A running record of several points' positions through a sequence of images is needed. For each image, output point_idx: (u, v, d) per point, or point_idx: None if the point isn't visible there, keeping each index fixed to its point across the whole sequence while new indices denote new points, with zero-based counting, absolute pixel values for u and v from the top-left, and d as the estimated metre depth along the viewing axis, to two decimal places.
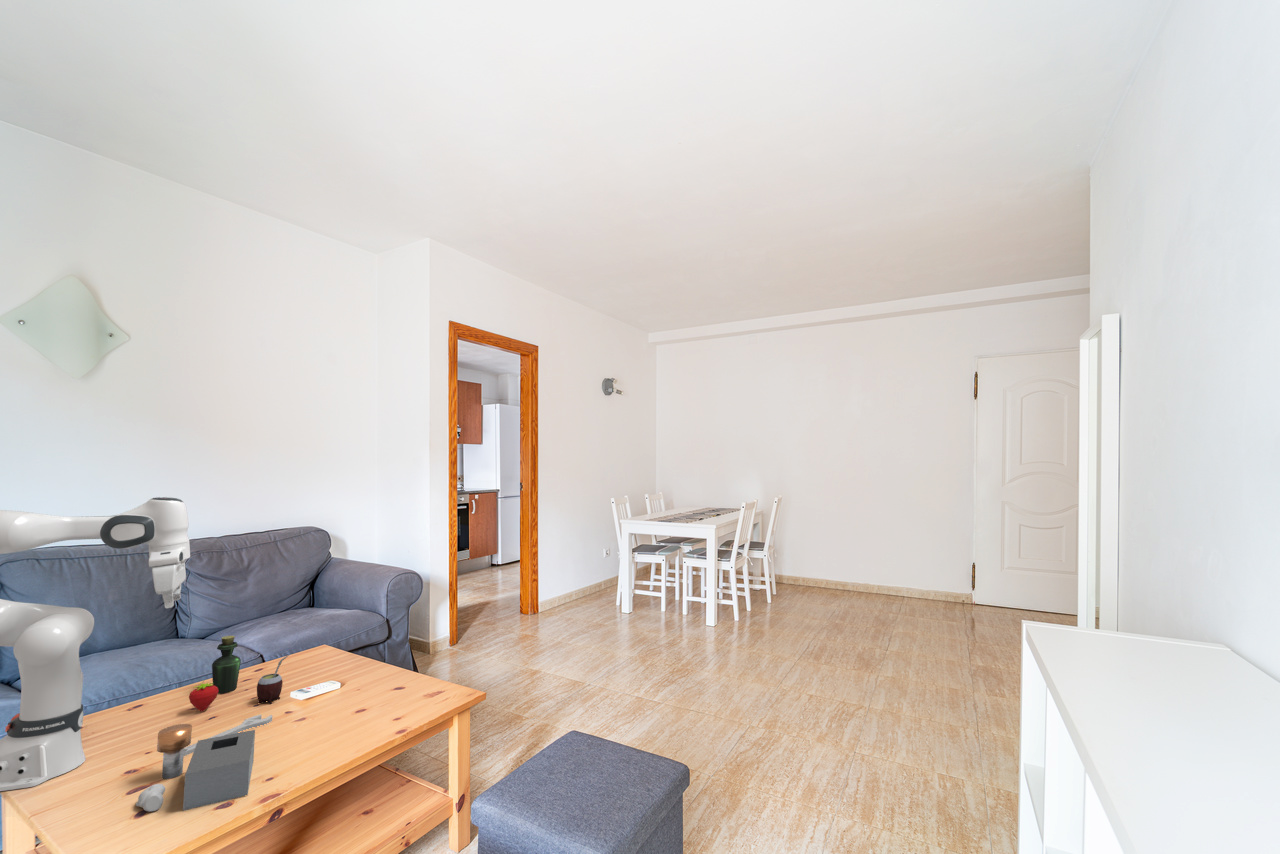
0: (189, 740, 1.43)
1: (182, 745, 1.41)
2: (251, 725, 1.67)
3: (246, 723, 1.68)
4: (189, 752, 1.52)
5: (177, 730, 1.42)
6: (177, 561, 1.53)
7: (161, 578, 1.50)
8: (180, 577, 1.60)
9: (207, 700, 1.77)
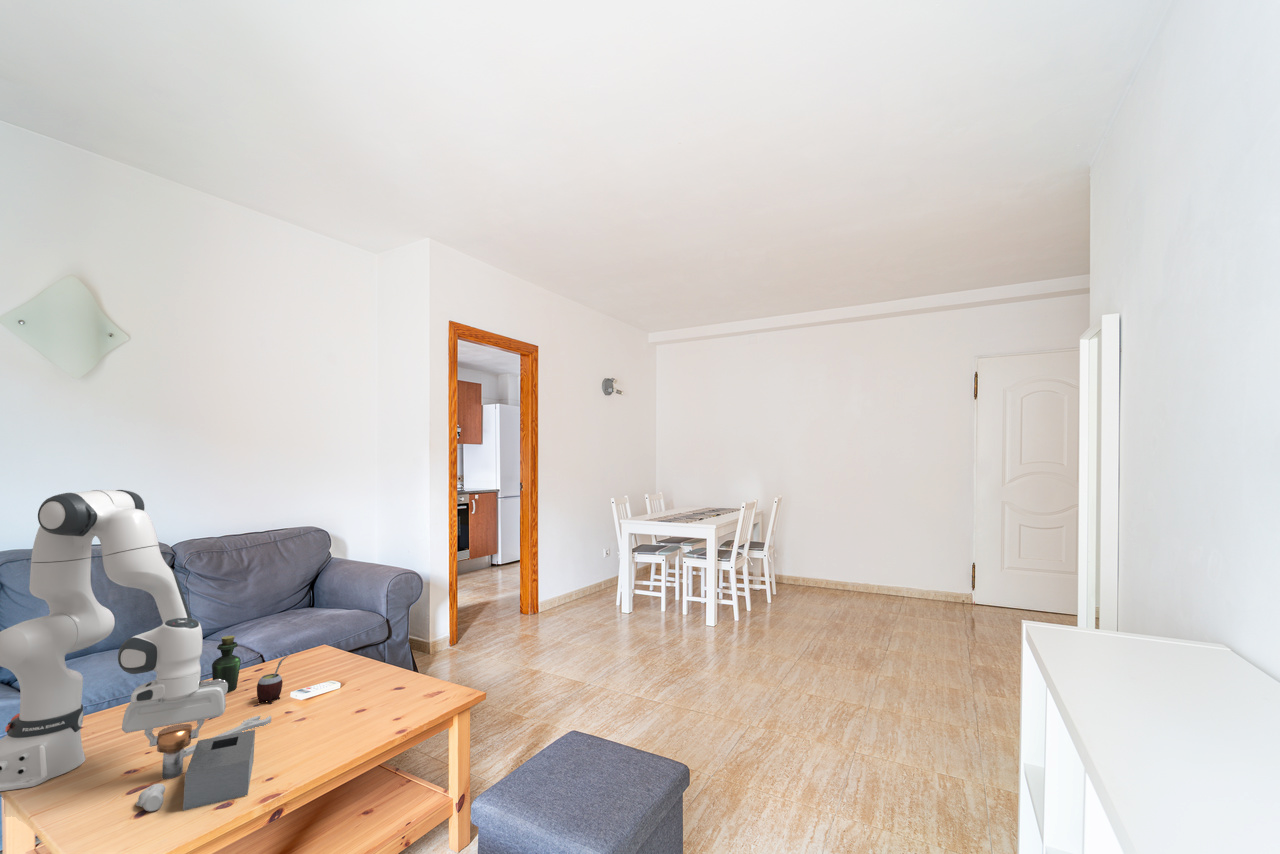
0: (189, 740, 1.43)
1: (182, 745, 1.41)
2: (250, 726, 1.66)
3: (245, 724, 1.67)
4: (188, 754, 1.51)
5: (177, 730, 1.42)
6: (131, 700, 1.36)
7: None
8: (180, 715, 1.42)
9: None
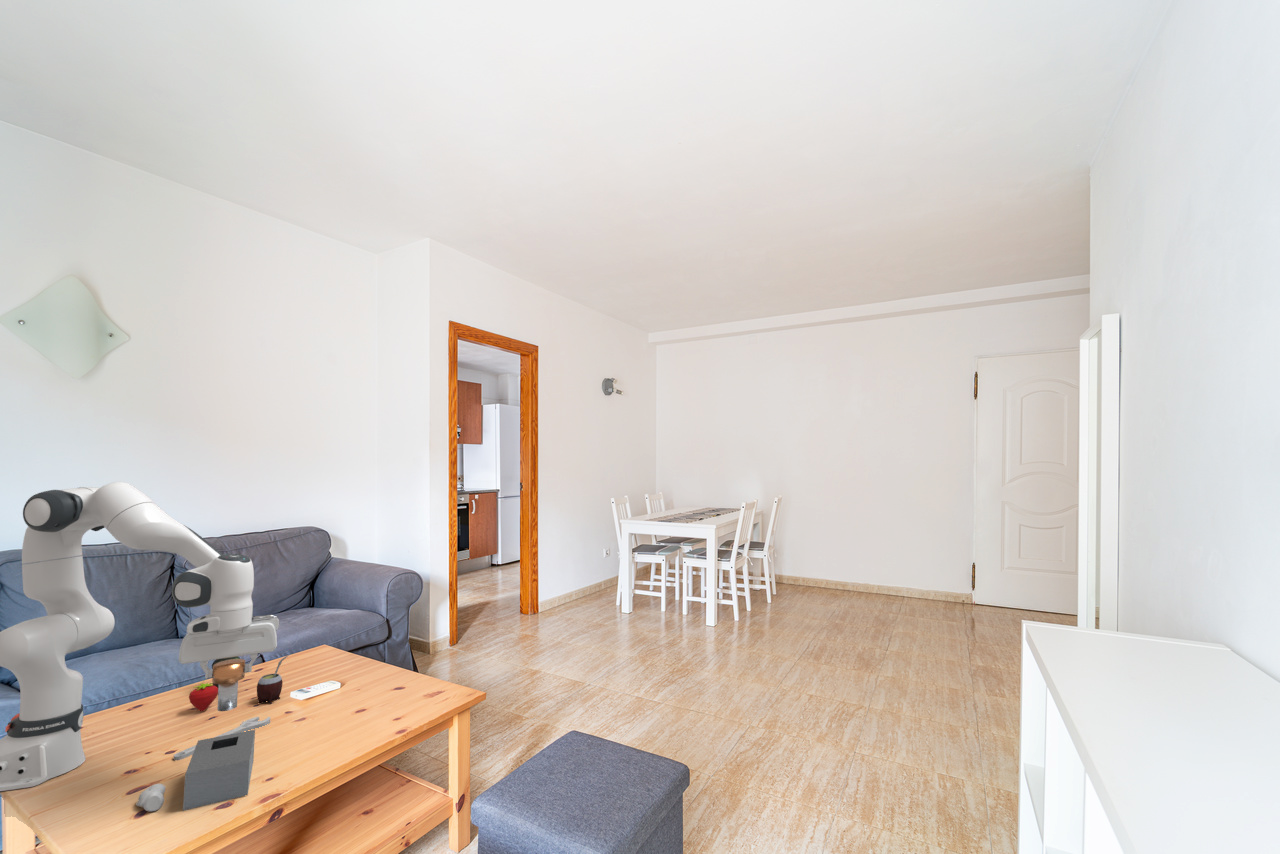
0: (243, 673, 1.44)
1: (237, 678, 1.42)
2: (249, 727, 1.66)
3: (244, 725, 1.66)
4: (187, 755, 1.50)
5: (232, 663, 1.43)
6: (187, 631, 1.37)
7: None
8: (234, 648, 1.42)
9: (207, 700, 1.77)
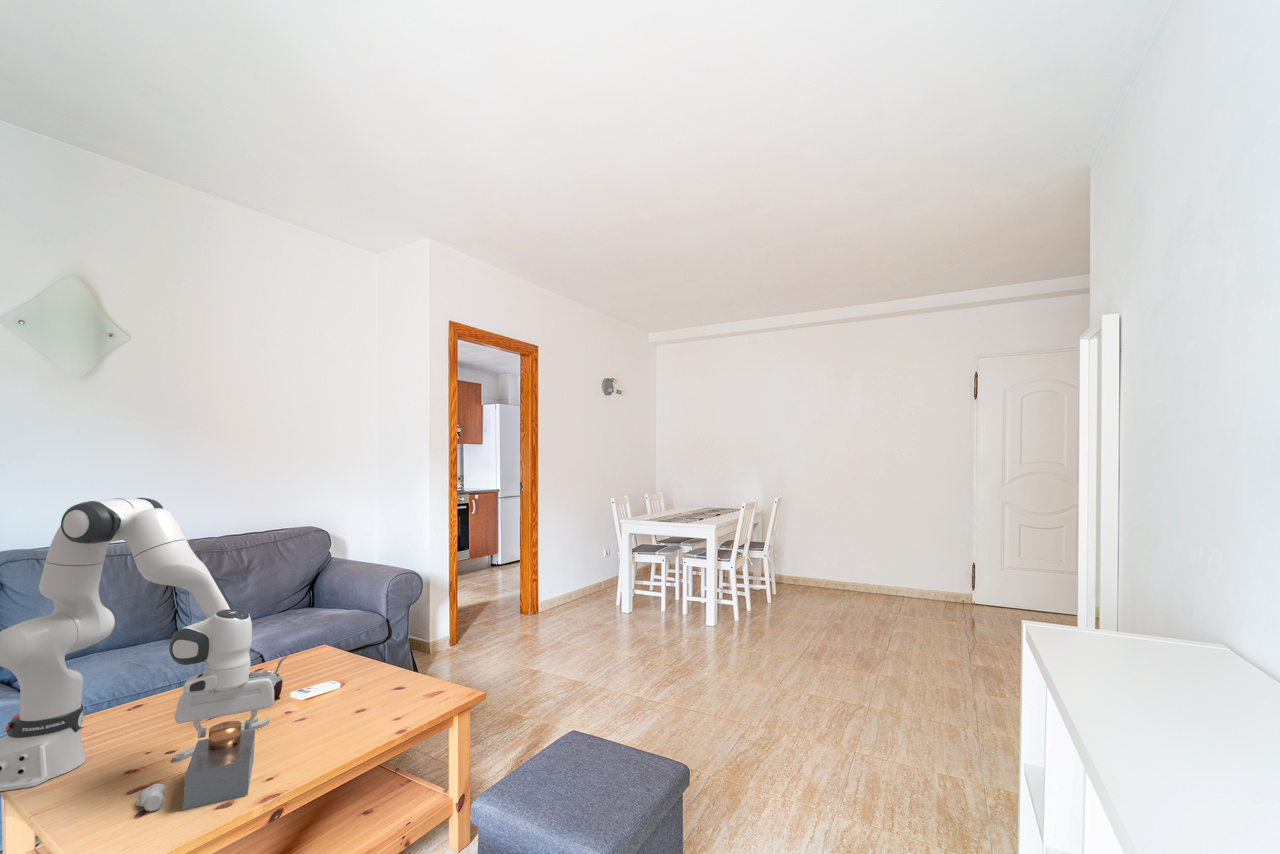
0: (239, 737, 1.43)
1: (233, 742, 1.41)
2: None
3: (243, 726, 1.65)
4: (186, 756, 1.50)
5: (228, 727, 1.42)
6: (184, 691, 1.36)
7: None
8: (231, 706, 1.41)
9: None
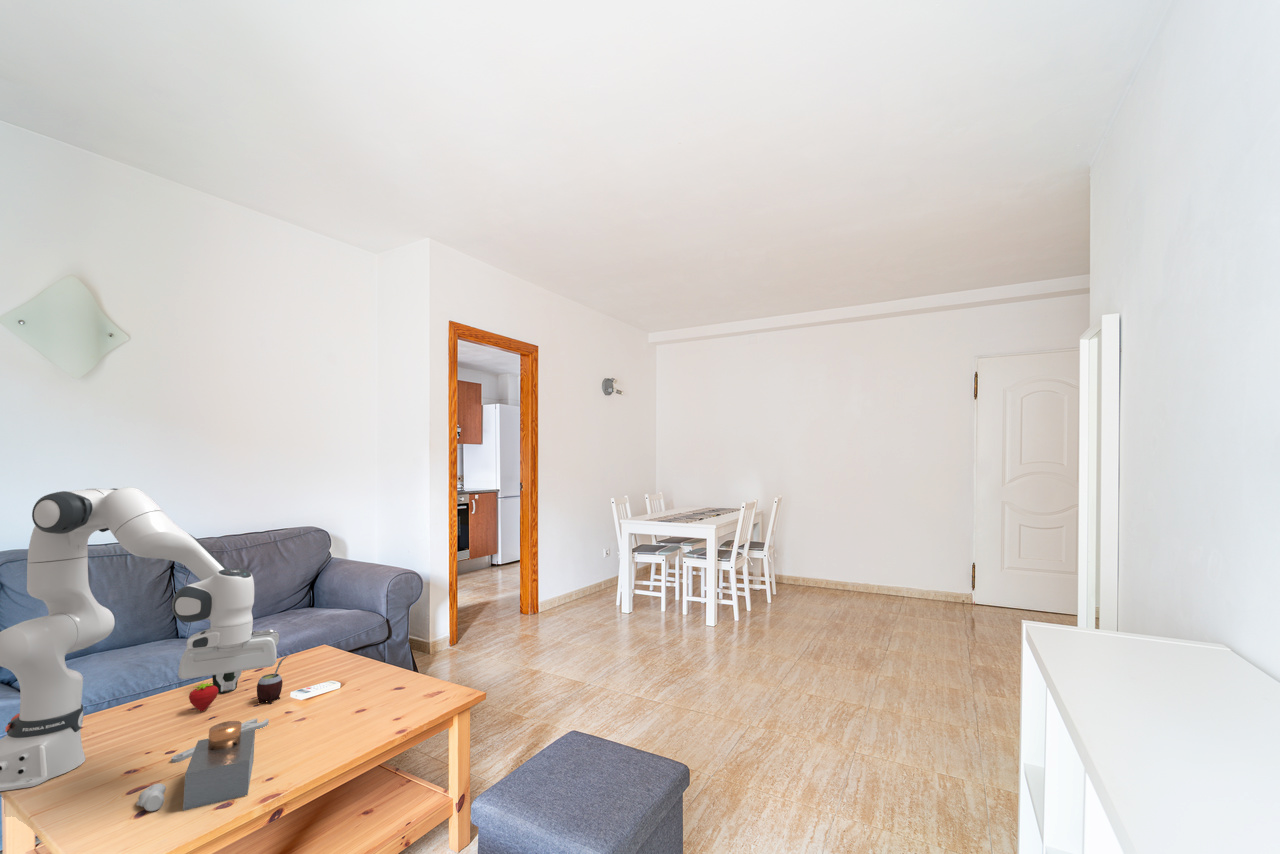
0: (239, 737, 1.43)
1: (233, 742, 1.41)
2: (247, 729, 1.64)
3: (242, 727, 1.65)
4: (185, 757, 1.49)
5: (228, 727, 1.42)
6: (187, 647, 1.37)
7: None
8: (234, 663, 1.42)
9: (207, 700, 1.77)
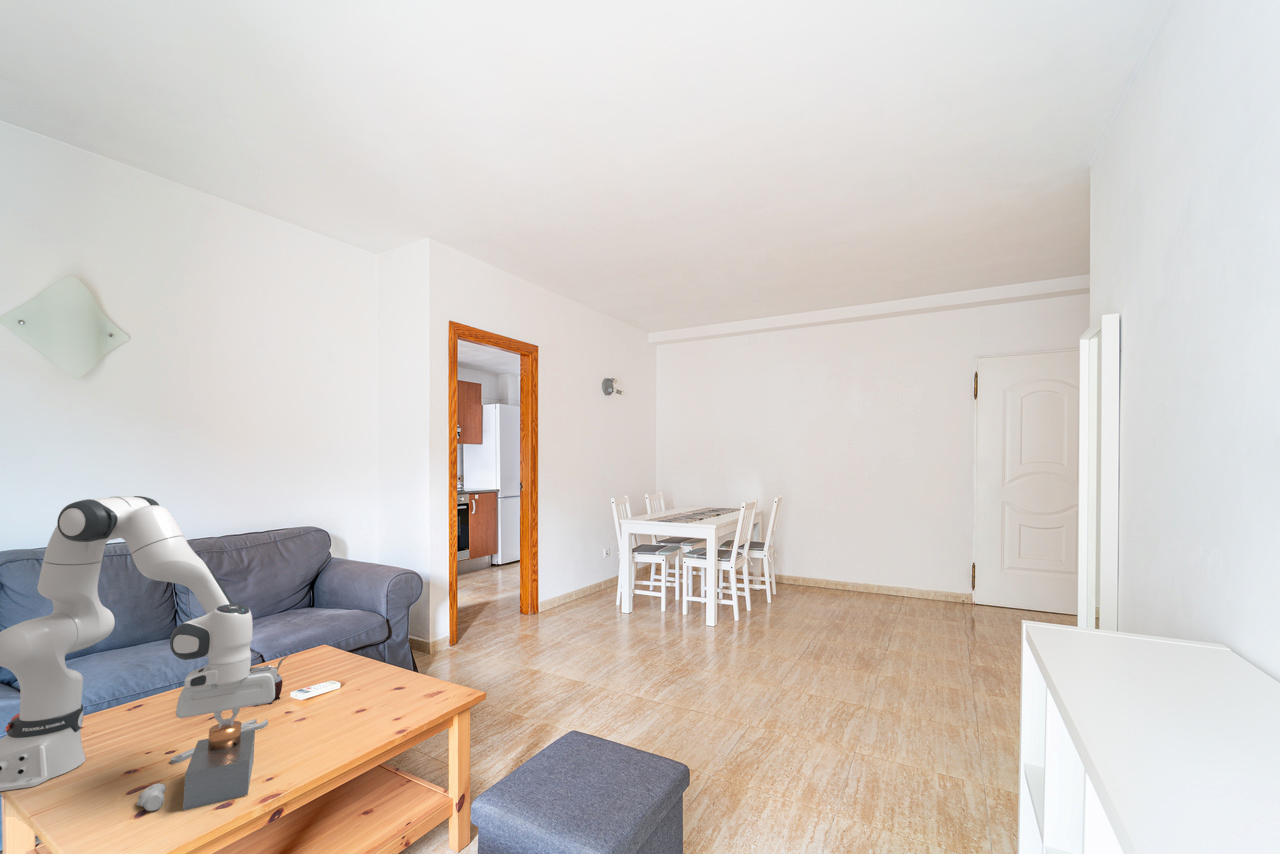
0: (239, 737, 1.43)
1: (233, 742, 1.41)
2: (247, 730, 1.64)
3: (241, 728, 1.65)
4: (184, 758, 1.49)
5: (228, 727, 1.42)
6: (185, 686, 1.36)
7: None
8: (232, 700, 1.42)
9: None
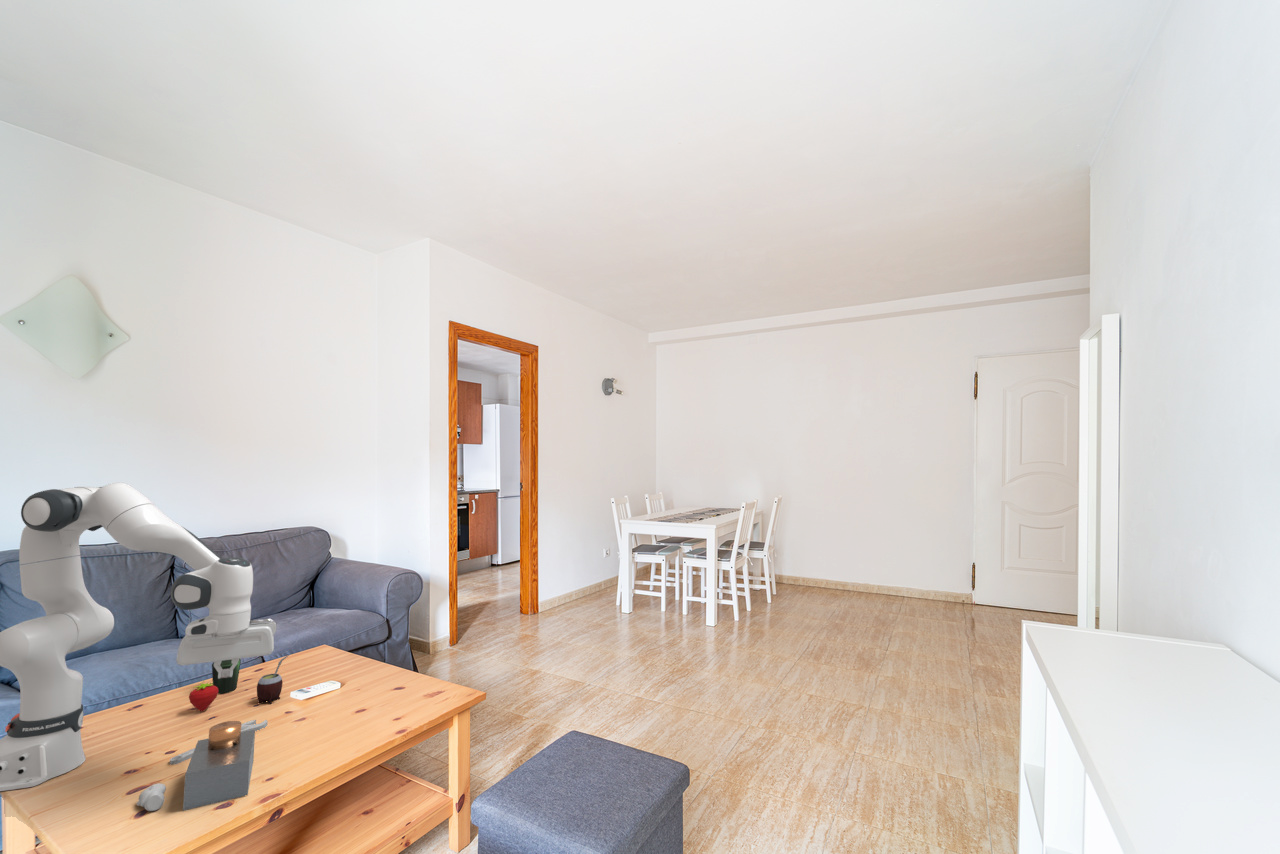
0: (239, 737, 1.43)
1: (233, 742, 1.41)
2: (246, 730, 1.64)
3: (241, 728, 1.64)
4: (183, 759, 1.48)
5: (228, 727, 1.42)
6: None
7: None
8: (232, 651, 1.44)
9: (207, 700, 1.77)
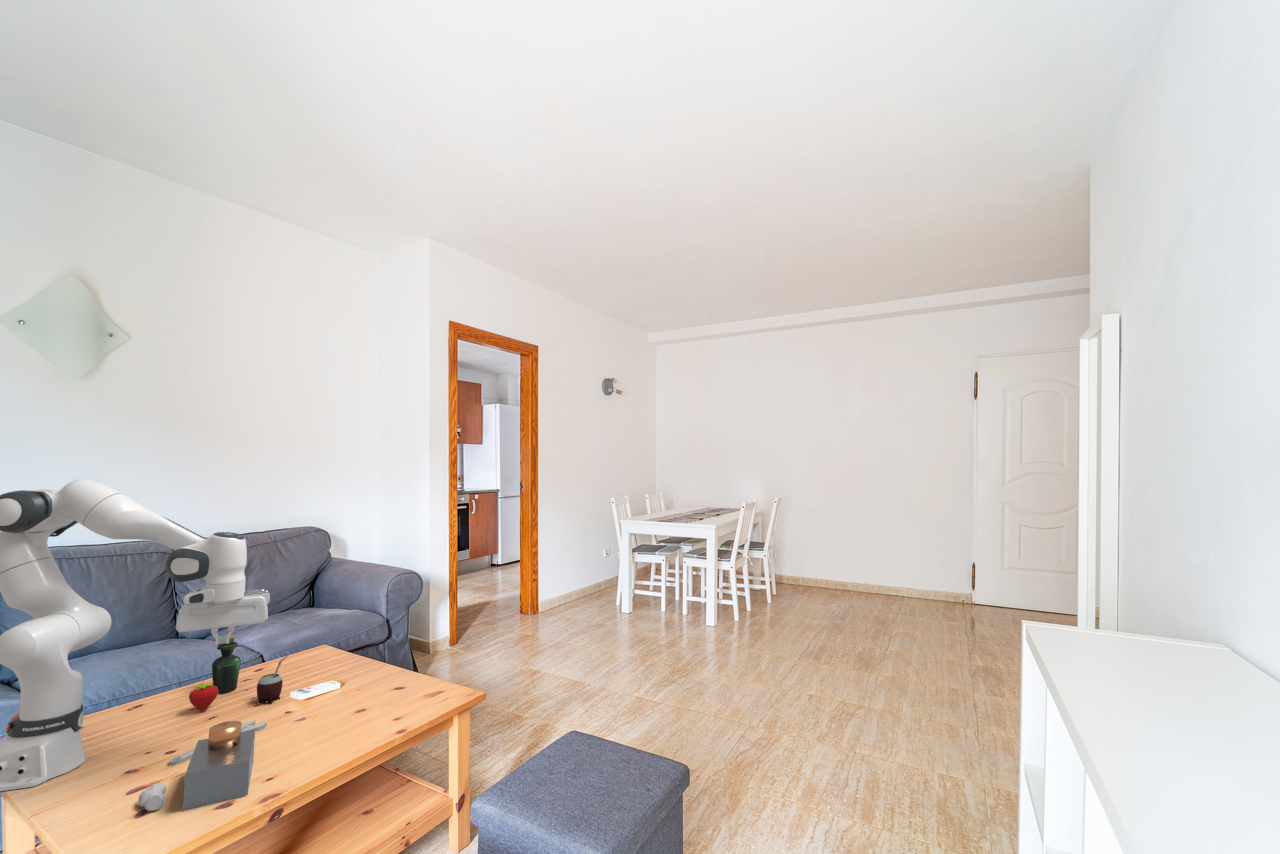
0: (239, 737, 1.43)
1: (233, 742, 1.41)
2: (245, 731, 1.63)
3: None
4: (183, 760, 1.48)
5: (228, 727, 1.42)
6: (184, 602, 1.48)
7: None
8: (228, 619, 1.53)
9: (207, 700, 1.77)
